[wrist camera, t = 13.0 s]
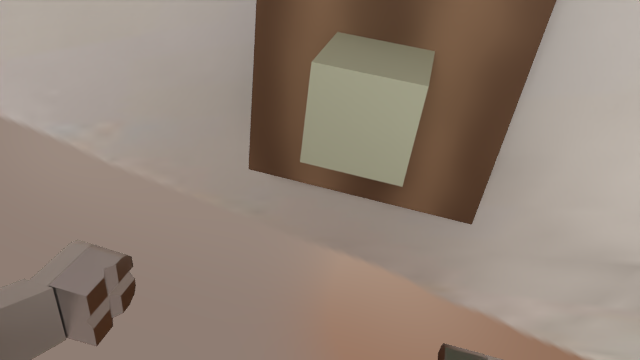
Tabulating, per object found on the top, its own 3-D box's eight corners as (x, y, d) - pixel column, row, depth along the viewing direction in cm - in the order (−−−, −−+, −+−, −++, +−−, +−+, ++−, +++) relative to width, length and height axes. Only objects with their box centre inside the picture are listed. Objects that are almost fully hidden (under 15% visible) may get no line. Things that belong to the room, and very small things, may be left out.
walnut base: (269, 141, 34) (248, 169, 30) (286, -85, 26) (260, -81, 23) (470, 188, 32) (471, 224, 28) (553, -41, 24) (567, -29, 21)
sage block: (325, 119, 27) (300, 161, 23) (337, 31, 24) (311, 61, 20) (412, 139, 26) (402, 186, 22) (435, 51, 24) (428, 86, 20)
